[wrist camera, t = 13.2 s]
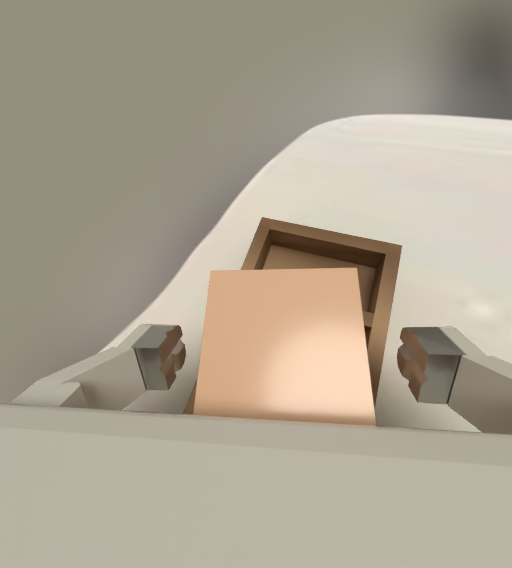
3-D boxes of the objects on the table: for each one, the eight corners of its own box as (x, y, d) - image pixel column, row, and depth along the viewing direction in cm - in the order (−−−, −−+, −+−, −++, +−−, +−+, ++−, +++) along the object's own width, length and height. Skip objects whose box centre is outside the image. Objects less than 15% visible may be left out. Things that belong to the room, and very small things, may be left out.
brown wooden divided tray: (324, 588, 12) (333, 648, 10) (167, 502, 15) (136, 529, 12) (384, 268, 18) (401, 245, 15) (266, 242, 21) (261, 217, 18)
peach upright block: (324, 410, 14) (378, 444, 5) (254, 406, 15) (191, 430, 6) (320, 339, 16) (356, 267, 7) (257, 337, 16) (210, 270, 7)
